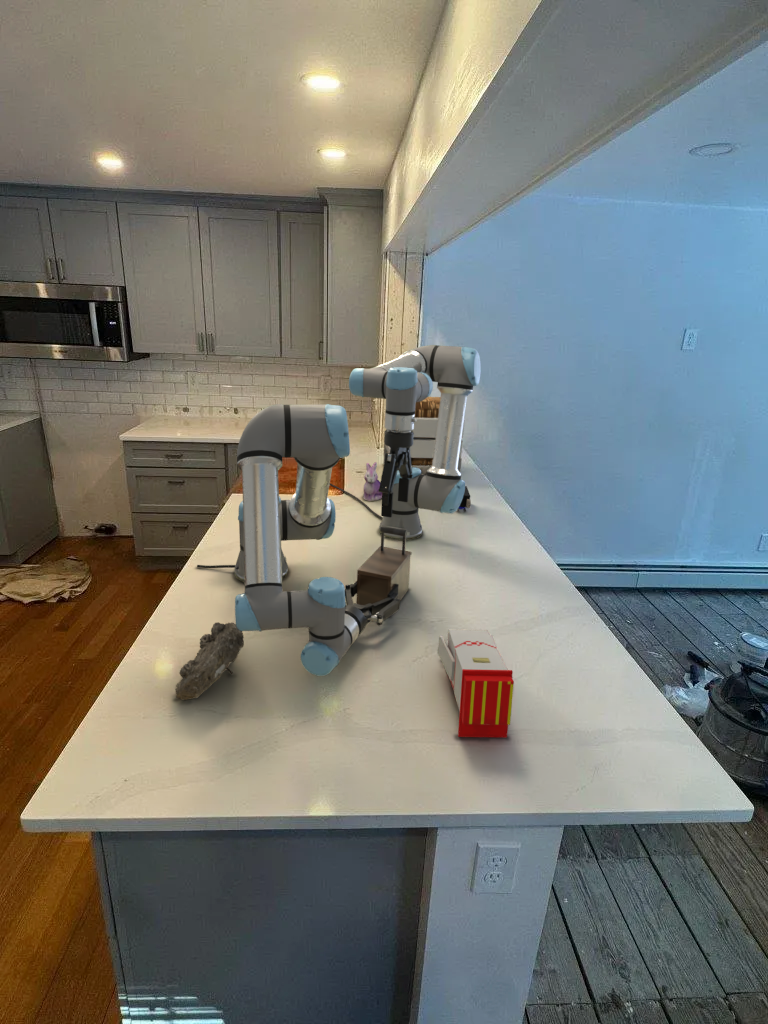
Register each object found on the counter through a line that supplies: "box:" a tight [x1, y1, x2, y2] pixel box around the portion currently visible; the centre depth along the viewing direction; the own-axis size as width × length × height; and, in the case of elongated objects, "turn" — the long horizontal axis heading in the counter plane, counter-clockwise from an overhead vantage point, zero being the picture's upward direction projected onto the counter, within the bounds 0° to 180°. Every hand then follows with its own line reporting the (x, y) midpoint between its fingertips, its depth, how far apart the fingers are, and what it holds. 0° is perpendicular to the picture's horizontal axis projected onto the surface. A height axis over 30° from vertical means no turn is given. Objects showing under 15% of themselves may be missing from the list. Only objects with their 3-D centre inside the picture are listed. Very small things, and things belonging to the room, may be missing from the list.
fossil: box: [174, 621, 245, 701], centre depth 119 cm, size 22×10×15 cm
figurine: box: [362, 461, 382, 502], centre depth 233 cm, size 9×10×15 cm
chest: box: [355, 555, 412, 605], centre depth 153 cm, size 17×9×10 cm, turn 160°
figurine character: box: [456, 485, 472, 513], centre depth 228 cm, size 7×8×15 cm
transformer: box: [383, 396, 465, 474], centre depth 268 cm, size 34×33×41 cm
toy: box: [437, 628, 515, 738], centre depth 117 cm, size 12×13×30 cm
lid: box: [356, 525, 412, 580], centre depth 150 cm, size 17×9×8 cm, turn 160°
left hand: (378, 585), depth 149 cm, fingers closed on chest, 9 cm apart
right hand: (394, 508), depth 152 cm, fingers open, 13 cm apart
